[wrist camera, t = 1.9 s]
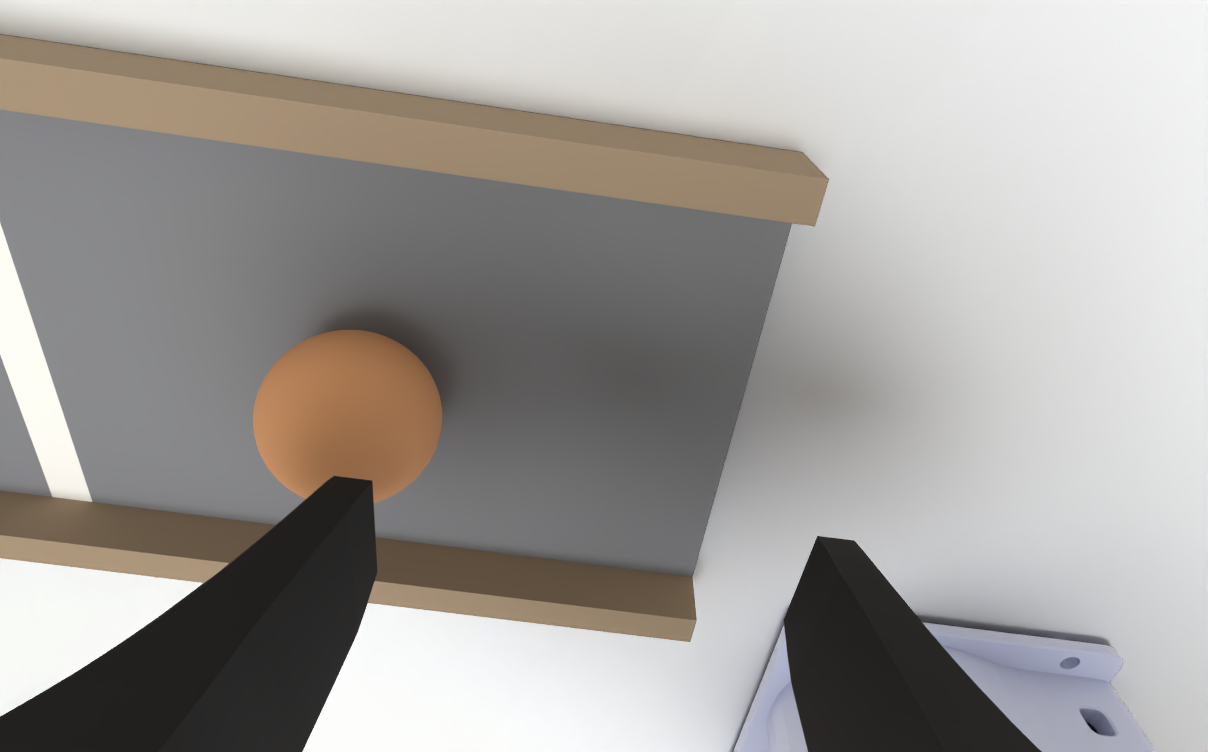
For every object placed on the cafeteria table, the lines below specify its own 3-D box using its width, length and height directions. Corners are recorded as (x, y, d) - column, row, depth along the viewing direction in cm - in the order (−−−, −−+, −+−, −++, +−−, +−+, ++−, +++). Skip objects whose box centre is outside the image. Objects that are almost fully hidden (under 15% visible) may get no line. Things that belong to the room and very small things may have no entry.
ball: (461, 313, 14) (414, 403, 11) (457, 446, 16) (416, 556, 13) (292, 290, 14) (199, 374, 11) (308, 427, 16) (230, 533, 13)
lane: (802, 152, 13) (836, 187, 11) (685, 580, 19) (691, 659, 17) (-702, -69, 12) (-998, -81, 10) (-330, 454, 18) (-462, 519, 16)
